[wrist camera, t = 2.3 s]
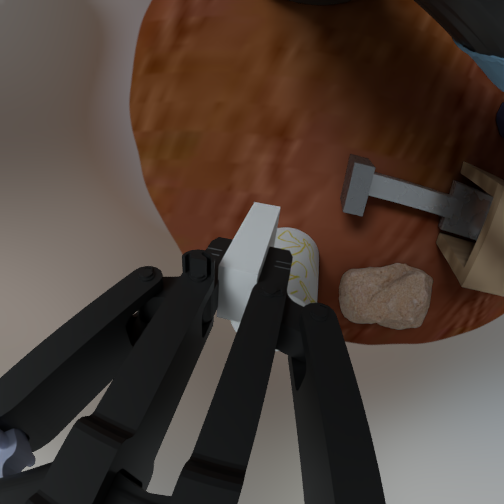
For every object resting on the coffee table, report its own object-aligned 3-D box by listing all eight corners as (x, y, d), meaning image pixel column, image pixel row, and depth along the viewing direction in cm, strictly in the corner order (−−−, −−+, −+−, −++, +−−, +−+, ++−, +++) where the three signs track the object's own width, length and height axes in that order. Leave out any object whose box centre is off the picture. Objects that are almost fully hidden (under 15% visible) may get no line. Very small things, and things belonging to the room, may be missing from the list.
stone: (427, 257, 34) (439, 261, 25) (429, 322, 34) (439, 345, 25) (344, 266, 40) (329, 273, 31) (348, 328, 39) (335, 352, 31)
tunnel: (463, 161, 24) (504, 187, 17) (511, 184, 23) (552, 214, 16) (435, 242, 30) (461, 286, 23) (483, 256, 29) (511, 298, 21)
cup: (328, 240, 34) (330, 307, 24) (305, 289, 38) (297, 359, 28) (265, 218, 34) (240, 277, 24) (249, 270, 39) (223, 335, 29)
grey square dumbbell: (350, 148, 27) (355, 157, 23) (522, 210, 24) (540, 225, 20) (338, 200, 30) (341, 216, 26) (506, 248, 27) (521, 266, 23)
